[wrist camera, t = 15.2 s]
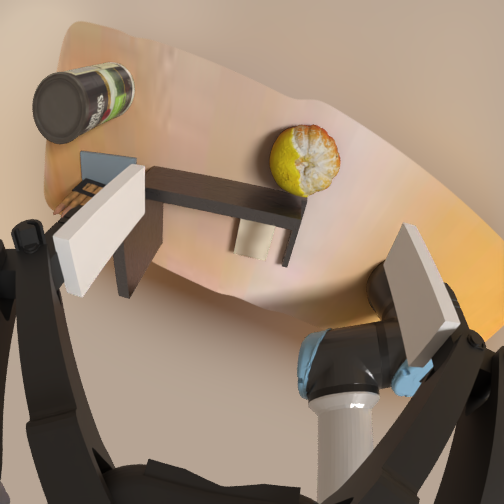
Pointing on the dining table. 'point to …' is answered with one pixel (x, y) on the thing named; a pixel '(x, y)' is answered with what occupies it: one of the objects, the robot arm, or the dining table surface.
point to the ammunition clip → (79, 195)
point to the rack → (202, 198)
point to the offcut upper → (253, 239)
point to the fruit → (304, 160)
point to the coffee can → (81, 100)
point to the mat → (103, 166)
